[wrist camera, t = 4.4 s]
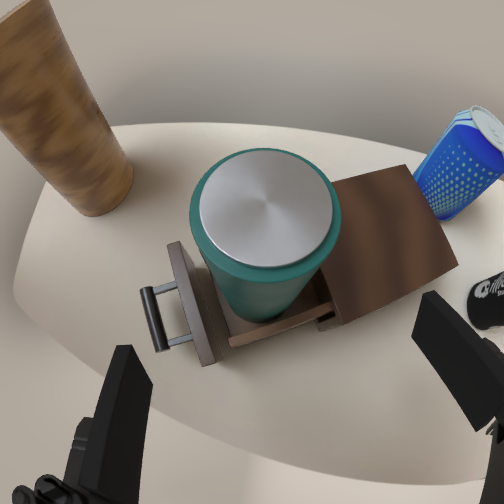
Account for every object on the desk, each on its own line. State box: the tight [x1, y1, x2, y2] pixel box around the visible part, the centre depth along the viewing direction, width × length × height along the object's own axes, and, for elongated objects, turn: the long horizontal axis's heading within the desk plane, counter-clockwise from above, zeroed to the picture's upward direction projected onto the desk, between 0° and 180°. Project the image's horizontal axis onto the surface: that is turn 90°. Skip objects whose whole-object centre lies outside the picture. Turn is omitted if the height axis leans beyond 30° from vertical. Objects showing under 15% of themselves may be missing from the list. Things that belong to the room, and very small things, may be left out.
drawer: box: [140, 241, 334, 367], centre depth 25 cm, size 17×11×6 cm, turn 109°
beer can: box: [413, 105, 504, 221], centre depth 26 cm, size 8×8×16 cm
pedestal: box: [0, 0, 134, 217], centre depth 21 cm, size 10×10×28 cm
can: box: [189, 148, 341, 323], centre depth 19 cm, size 6×6×17 cm
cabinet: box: [315, 164, 459, 332], centre depth 27 cm, size 14×12×8 cm
